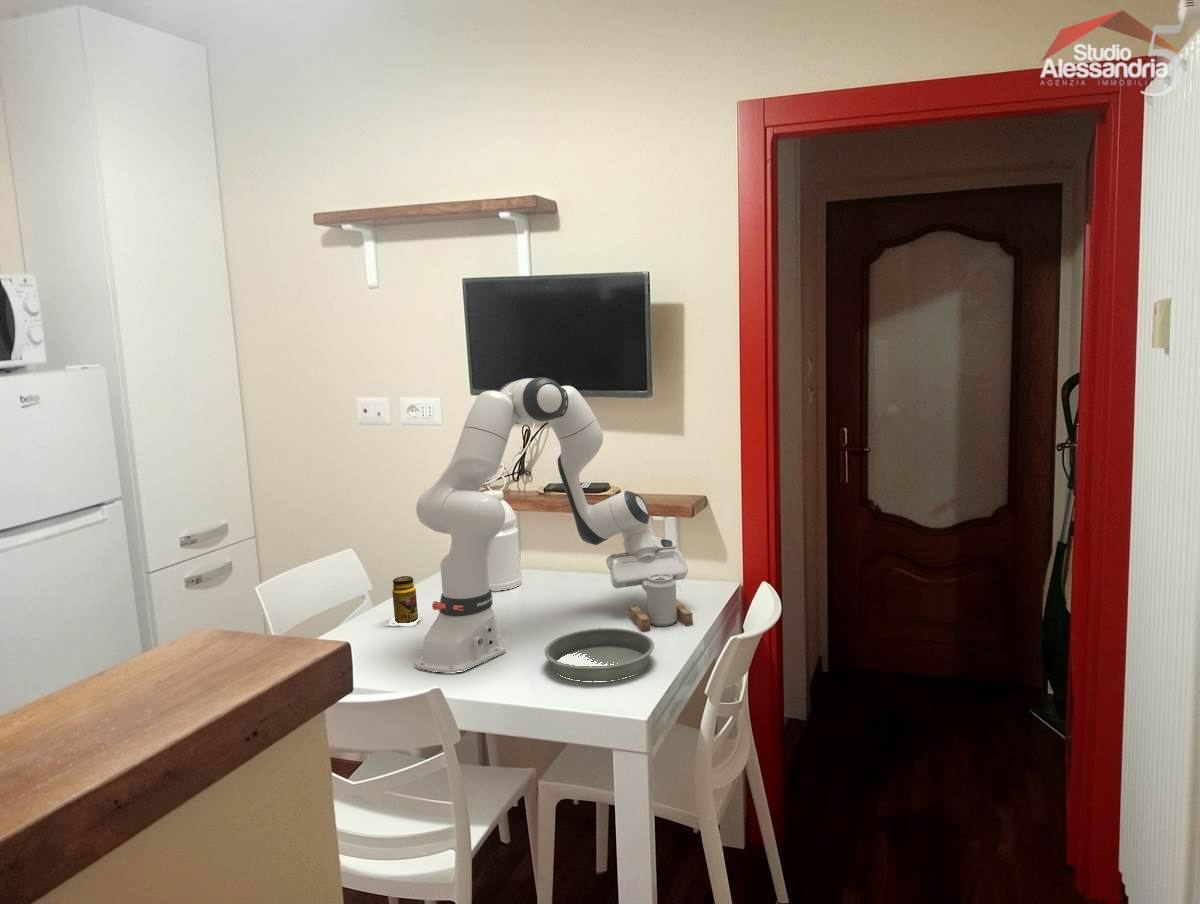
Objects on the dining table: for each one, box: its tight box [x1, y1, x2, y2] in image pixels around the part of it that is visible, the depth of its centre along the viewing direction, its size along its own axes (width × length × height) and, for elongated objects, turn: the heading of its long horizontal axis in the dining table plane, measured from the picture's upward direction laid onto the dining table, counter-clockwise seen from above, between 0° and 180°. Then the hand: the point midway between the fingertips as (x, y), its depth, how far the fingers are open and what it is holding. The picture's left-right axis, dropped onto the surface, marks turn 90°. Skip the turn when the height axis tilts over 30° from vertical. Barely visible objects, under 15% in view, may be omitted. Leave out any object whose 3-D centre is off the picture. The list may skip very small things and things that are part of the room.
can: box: [645, 573, 678, 627], centre depth 237 cm, size 8×8×12 cm
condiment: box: [391, 575, 419, 623], centre depth 249 cm, size 7×8×12 cm
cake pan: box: [544, 627, 655, 682], centre depth 212 cm, size 25×25×4 cm
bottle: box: [482, 489, 522, 592], centre depth 276 cm, size 14×14×28 cm
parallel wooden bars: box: [628, 599, 694, 633], centre depth 239 cm, size 12×13×3 cm
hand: (656, 596), depth 241 cm, fingers closed, pressing on can
